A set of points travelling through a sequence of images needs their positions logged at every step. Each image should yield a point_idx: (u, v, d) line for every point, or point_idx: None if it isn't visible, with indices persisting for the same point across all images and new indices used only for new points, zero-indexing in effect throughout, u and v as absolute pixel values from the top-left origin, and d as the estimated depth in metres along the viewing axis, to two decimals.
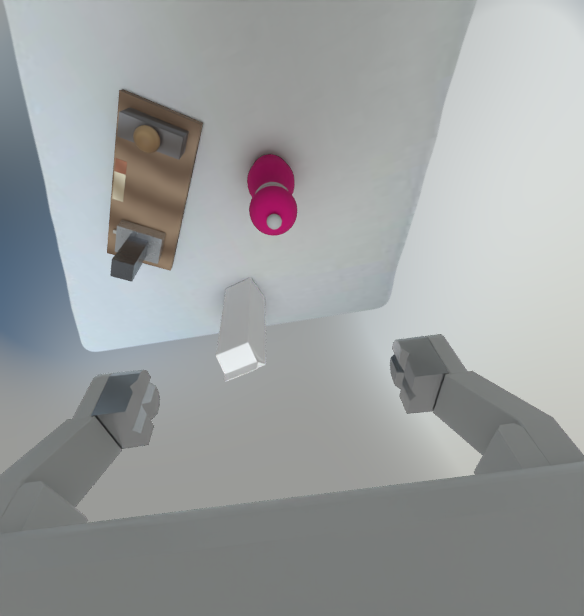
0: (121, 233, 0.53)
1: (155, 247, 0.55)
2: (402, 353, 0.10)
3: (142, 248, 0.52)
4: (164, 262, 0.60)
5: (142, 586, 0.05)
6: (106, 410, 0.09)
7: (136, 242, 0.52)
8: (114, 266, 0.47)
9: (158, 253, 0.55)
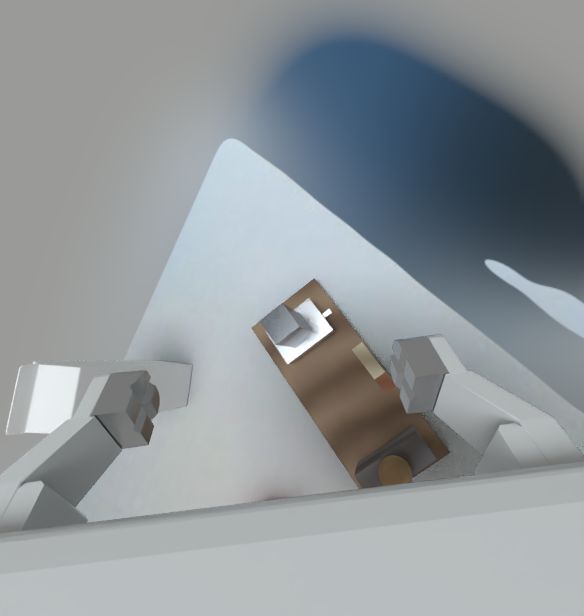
0: (322, 326, 0.39)
1: (284, 348, 0.40)
2: (402, 353, 0.10)
3: (291, 345, 0.37)
4: (264, 330, 0.44)
5: (142, 586, 0.05)
6: (106, 410, 0.09)
7: (302, 339, 0.38)
8: (289, 320, 0.32)
9: (276, 344, 0.40)
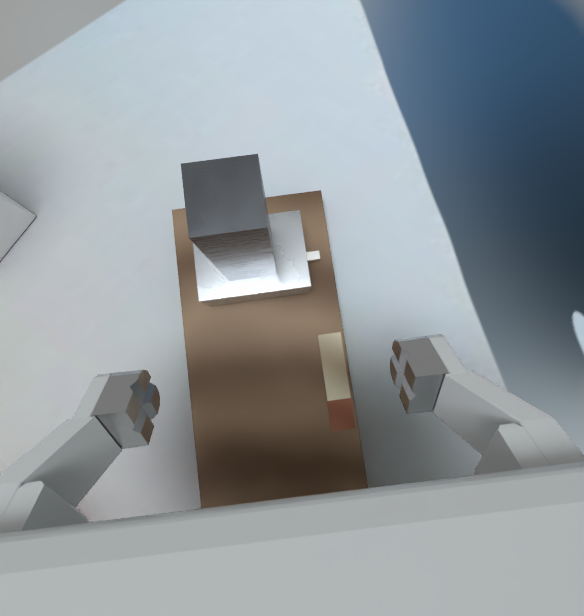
0: (296, 270, 0.20)
1: (208, 270, 0.20)
2: (402, 353, 0.10)
3: (223, 269, 0.17)
4: None
5: (142, 586, 0.05)
6: (106, 410, 0.09)
7: (249, 272, 0.18)
8: (253, 200, 0.12)
9: (197, 256, 0.20)
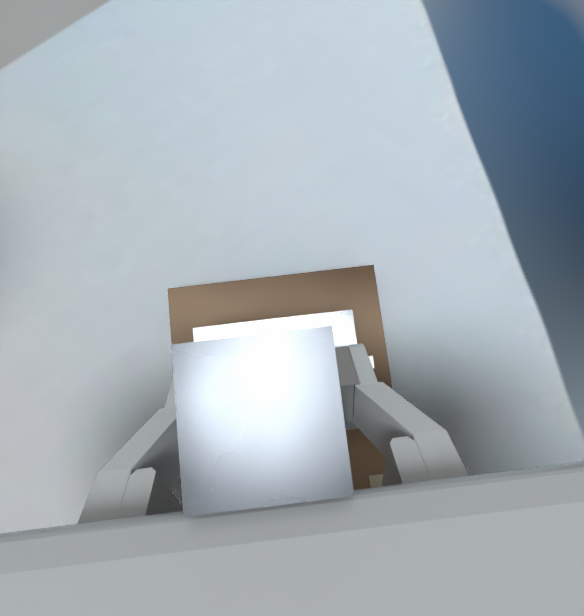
0: None
1: None
2: None
3: None
4: (193, 312, 0.17)
5: (142, 586, 0.05)
6: None
7: None
8: (322, 433, 0.06)
9: None
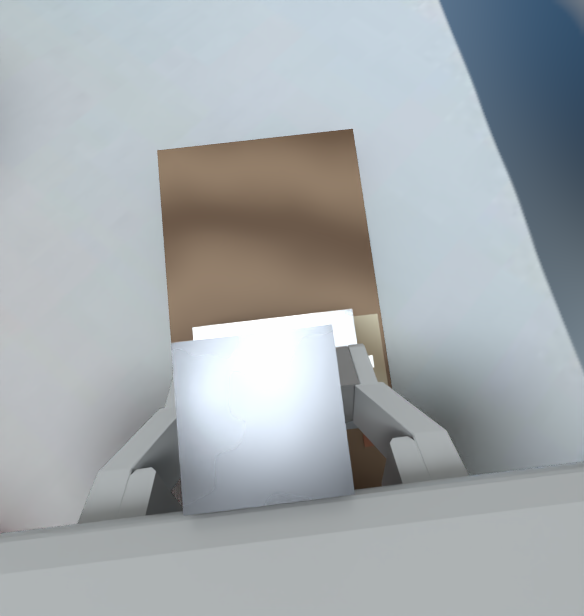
0: None
1: None
2: None
3: None
4: (182, 172, 0.18)
5: (142, 586, 0.05)
6: None
7: None
8: (323, 431, 0.06)
9: None
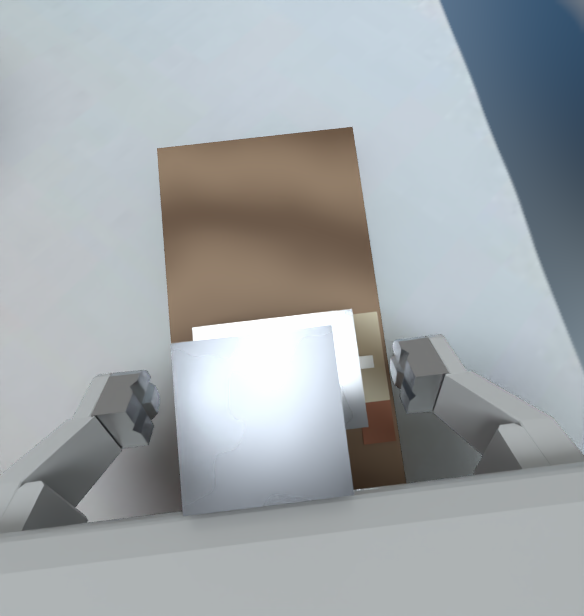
0: (346, 401, 0.14)
1: None
2: (402, 353, 0.10)
3: None
4: (181, 169, 0.18)
5: (142, 586, 0.05)
6: (106, 410, 0.09)
7: None
8: (322, 432, 0.06)
9: None
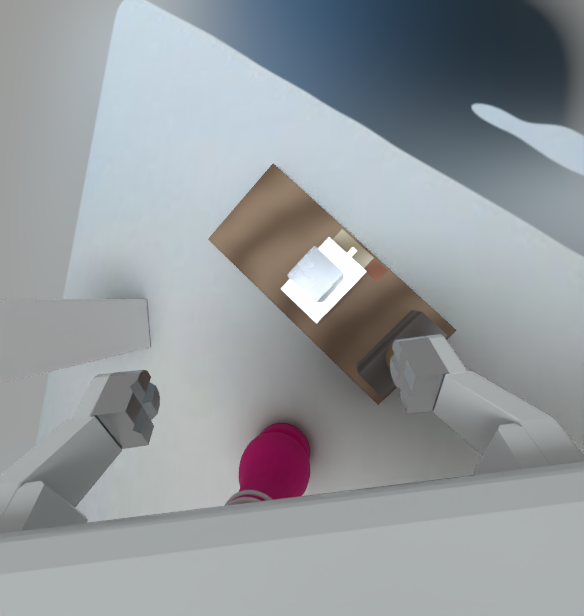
0: (352, 269, 0.31)
1: (308, 304, 0.32)
2: (402, 353, 0.10)
3: (322, 300, 0.29)
4: (224, 239, 0.36)
5: (142, 586, 0.05)
6: (106, 410, 0.09)
7: None
8: (328, 266, 0.24)
9: (297, 302, 0.32)
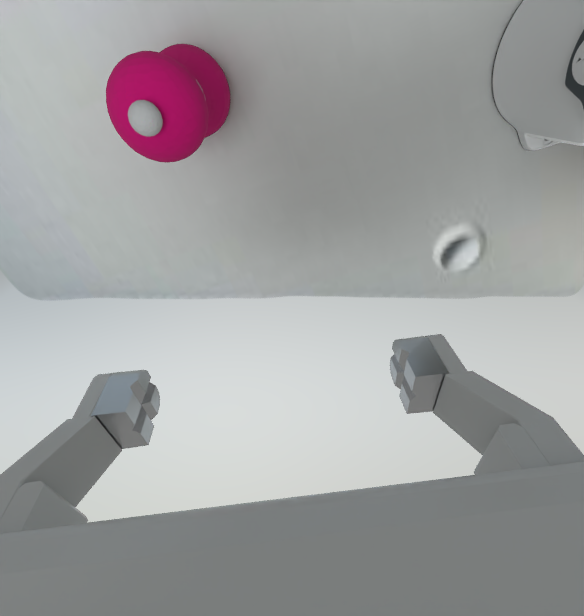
0: None
1: None
2: (402, 353, 0.10)
3: None
4: None
5: (142, 586, 0.05)
6: (106, 410, 0.09)
7: None
8: None
9: None
